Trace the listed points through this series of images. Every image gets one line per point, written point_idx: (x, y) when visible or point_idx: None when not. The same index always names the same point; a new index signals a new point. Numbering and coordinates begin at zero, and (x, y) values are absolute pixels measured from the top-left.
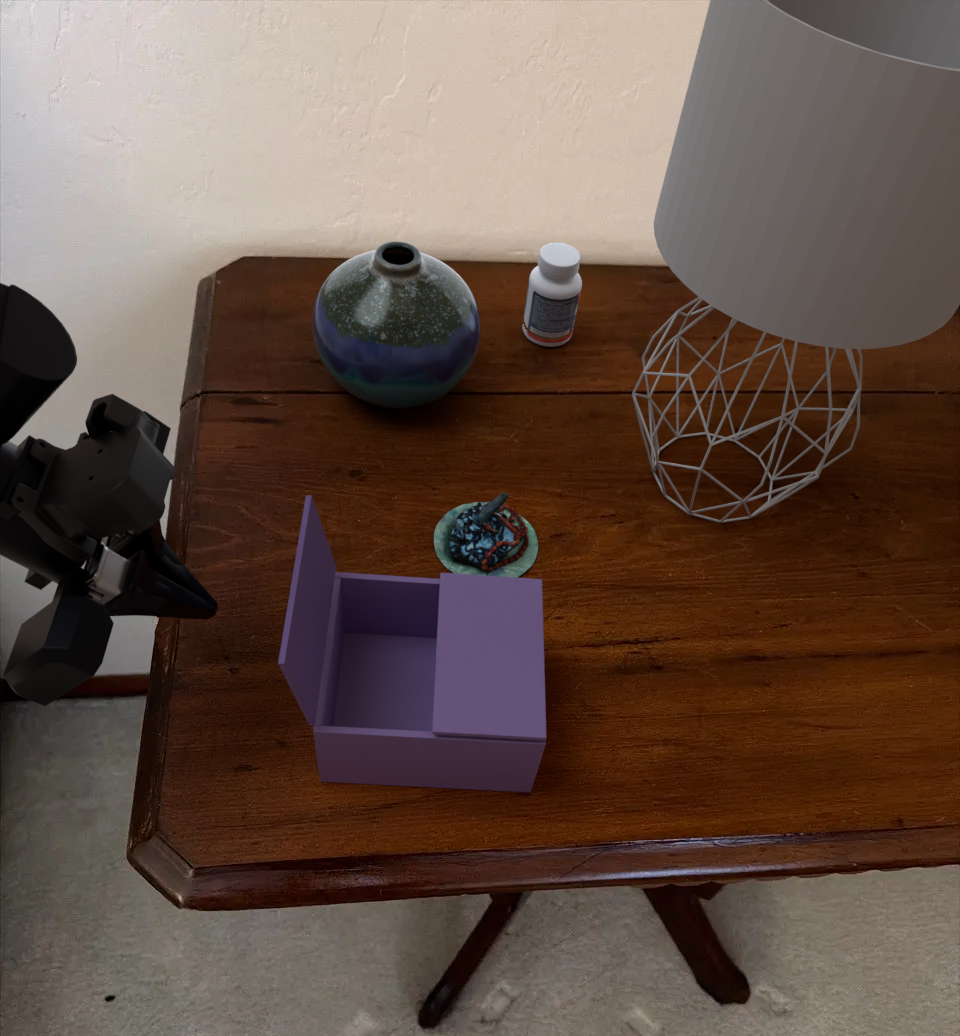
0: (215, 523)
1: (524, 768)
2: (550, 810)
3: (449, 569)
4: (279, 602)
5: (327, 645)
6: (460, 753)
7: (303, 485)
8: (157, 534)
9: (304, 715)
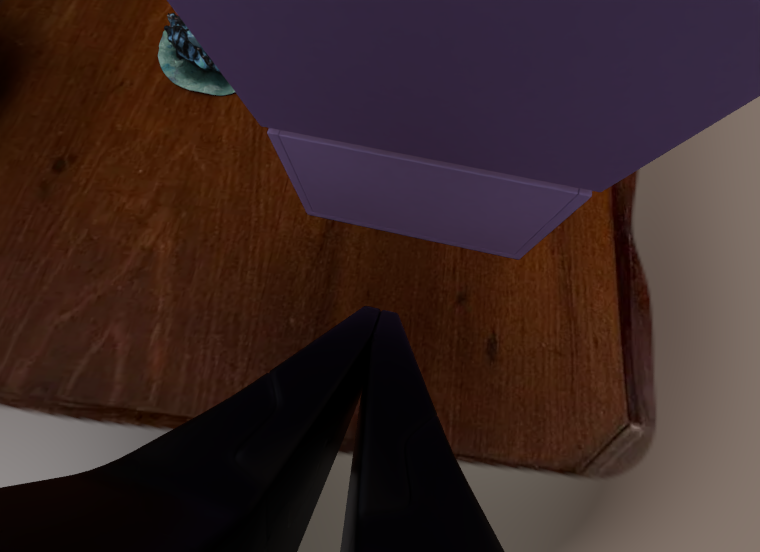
0: (74, 359)
1: None
2: None
3: None
4: (244, 281)
5: (419, 159)
6: None
7: (52, 231)
8: (81, 522)
9: (625, 176)
